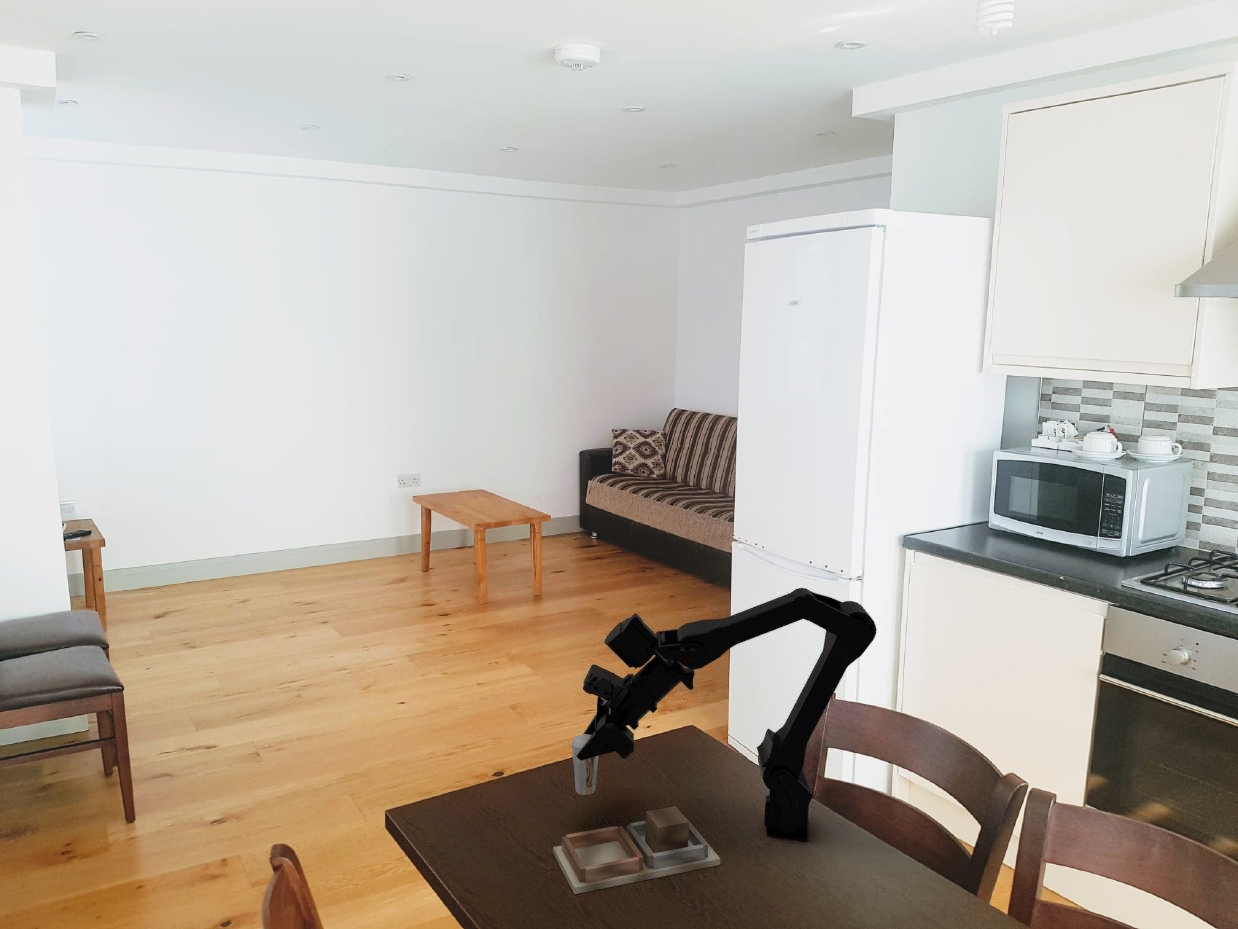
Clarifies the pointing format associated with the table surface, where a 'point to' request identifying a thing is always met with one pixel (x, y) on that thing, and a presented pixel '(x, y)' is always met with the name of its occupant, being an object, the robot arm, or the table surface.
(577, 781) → the milkshake
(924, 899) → the table surface
